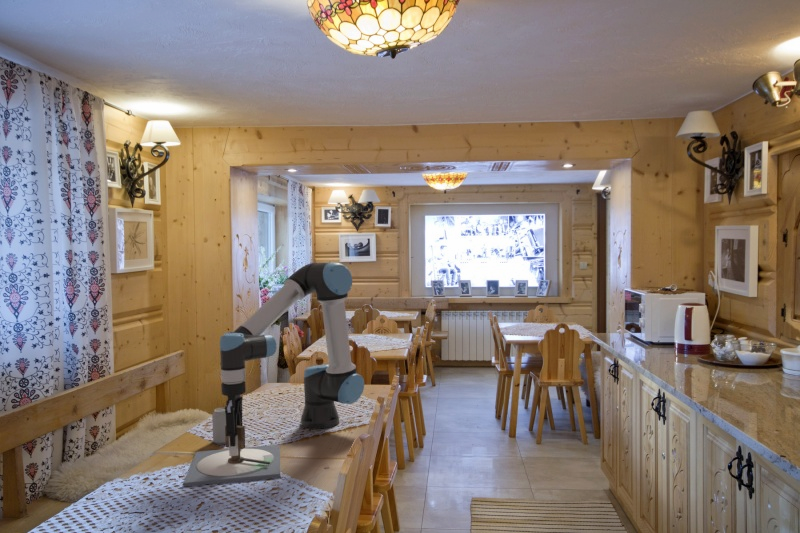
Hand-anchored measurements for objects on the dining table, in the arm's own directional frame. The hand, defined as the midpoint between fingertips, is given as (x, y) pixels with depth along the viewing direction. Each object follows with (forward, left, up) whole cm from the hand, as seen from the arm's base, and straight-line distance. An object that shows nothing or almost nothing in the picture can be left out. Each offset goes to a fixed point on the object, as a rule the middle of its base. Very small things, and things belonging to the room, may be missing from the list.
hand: (235, 453), depth 195 cm
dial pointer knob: (-4, +3, -2) cm, 6 cm away
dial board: (0, 0, -4) cm, 4 cm away
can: (+6, -27, -4) cm, 28 cm away
